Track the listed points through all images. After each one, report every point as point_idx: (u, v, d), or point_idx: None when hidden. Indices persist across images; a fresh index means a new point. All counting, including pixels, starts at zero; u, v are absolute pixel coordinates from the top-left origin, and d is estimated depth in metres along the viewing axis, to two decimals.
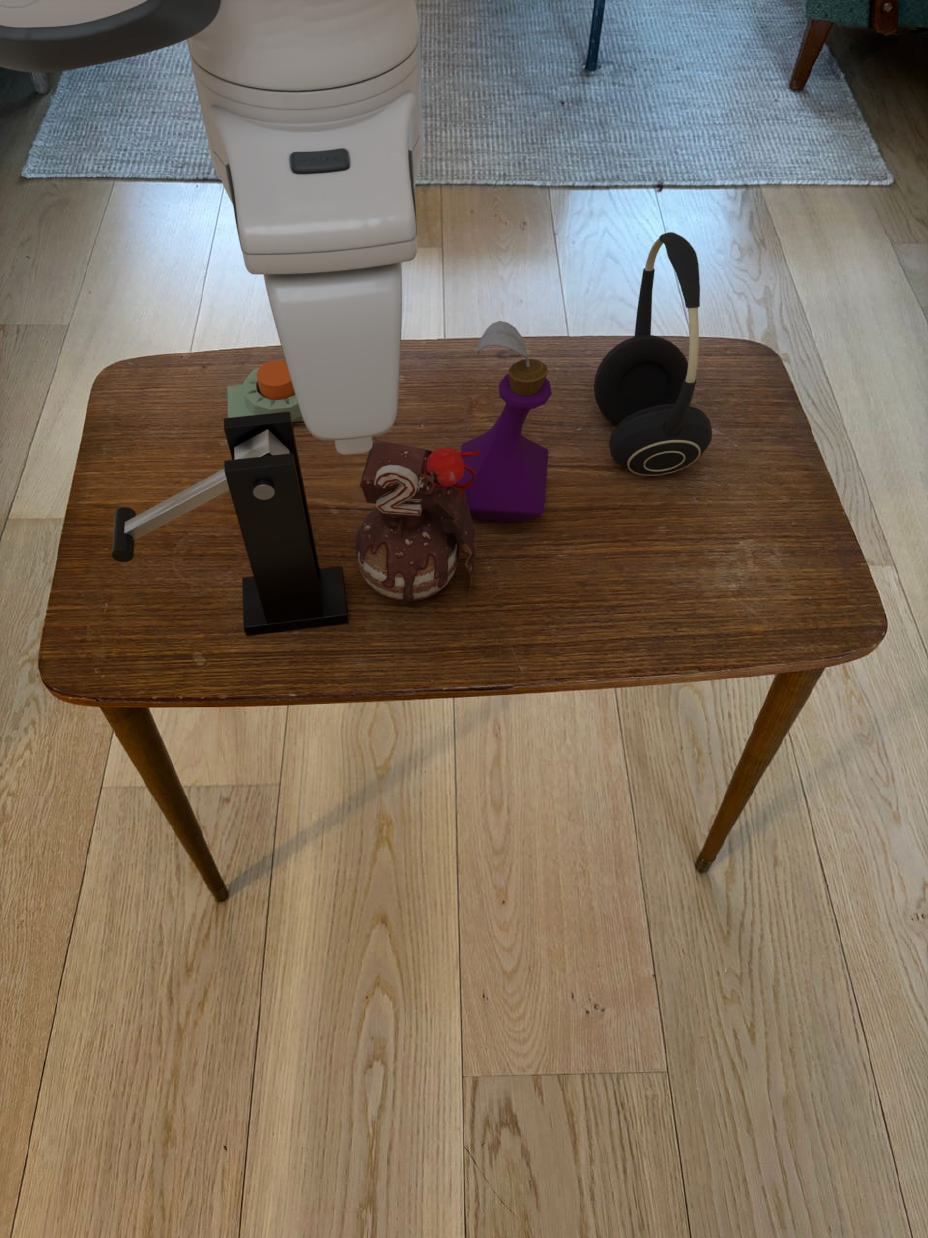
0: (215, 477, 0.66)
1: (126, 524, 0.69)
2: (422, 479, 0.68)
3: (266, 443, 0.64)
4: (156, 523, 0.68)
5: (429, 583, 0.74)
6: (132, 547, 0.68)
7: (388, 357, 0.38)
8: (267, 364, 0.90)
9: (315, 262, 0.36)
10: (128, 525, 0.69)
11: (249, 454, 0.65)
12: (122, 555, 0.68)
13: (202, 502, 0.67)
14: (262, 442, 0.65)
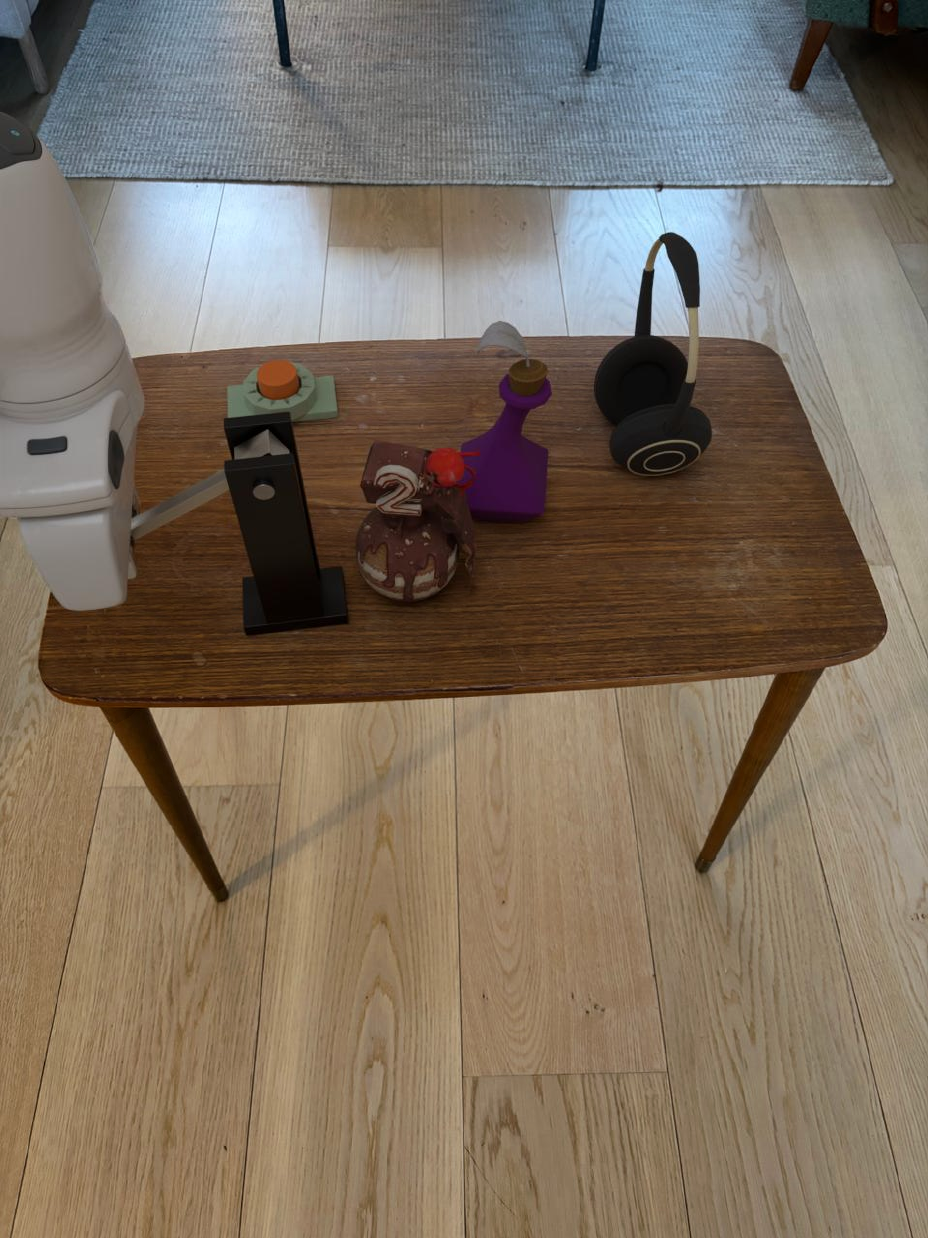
0: (215, 477, 0.66)
1: None
2: (422, 479, 0.68)
3: (266, 443, 0.64)
4: (156, 523, 0.68)
5: (429, 583, 0.74)
6: (132, 547, 0.68)
7: (106, 564, 0.57)
8: (267, 364, 0.90)
9: (44, 512, 0.54)
10: None
11: (249, 454, 0.65)
12: None
13: (202, 502, 0.67)
14: (262, 442, 0.65)
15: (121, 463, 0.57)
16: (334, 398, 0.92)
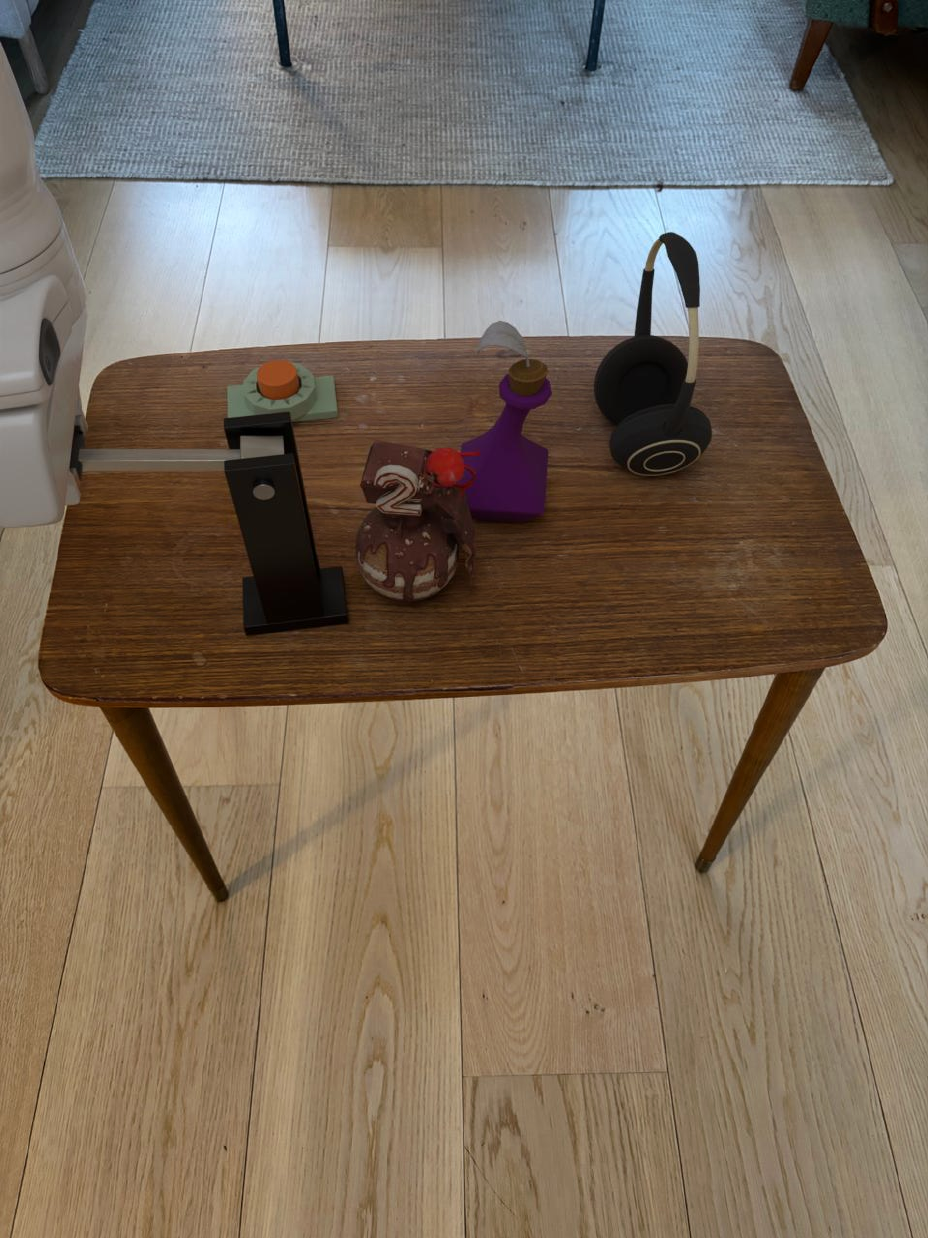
0: (207, 453, 0.65)
1: (81, 452, 0.63)
2: (422, 479, 0.68)
3: (280, 449, 0.65)
4: (118, 467, 0.64)
5: (429, 583, 0.74)
6: (81, 478, 0.63)
7: (37, 471, 0.51)
8: (267, 364, 0.90)
9: None
10: (83, 453, 0.63)
11: (259, 450, 0.64)
12: None
13: (179, 469, 0.65)
14: (276, 446, 0.65)
15: (56, 358, 0.51)
16: (334, 398, 0.92)
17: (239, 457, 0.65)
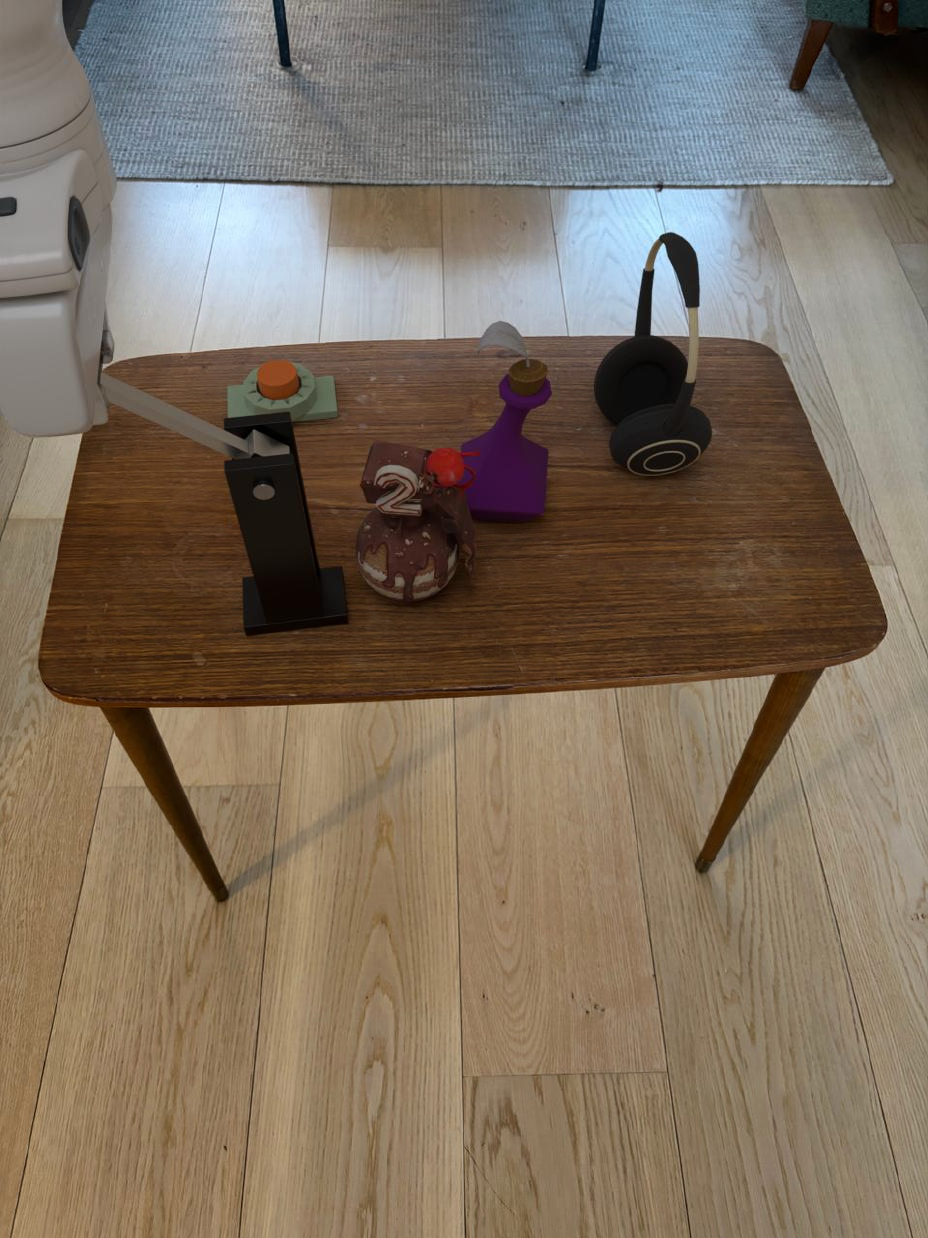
0: (219, 432, 0.63)
1: (102, 375, 0.59)
2: (422, 479, 0.68)
3: None
4: (133, 407, 0.60)
5: (429, 583, 0.74)
6: None
7: (66, 368, 0.46)
8: (267, 364, 0.90)
9: None
10: (105, 379, 0.59)
11: (270, 452, 0.65)
12: None
13: (187, 435, 0.62)
14: (284, 453, 0.66)
15: (85, 243, 0.46)
16: (334, 398, 0.92)
17: (247, 449, 0.64)
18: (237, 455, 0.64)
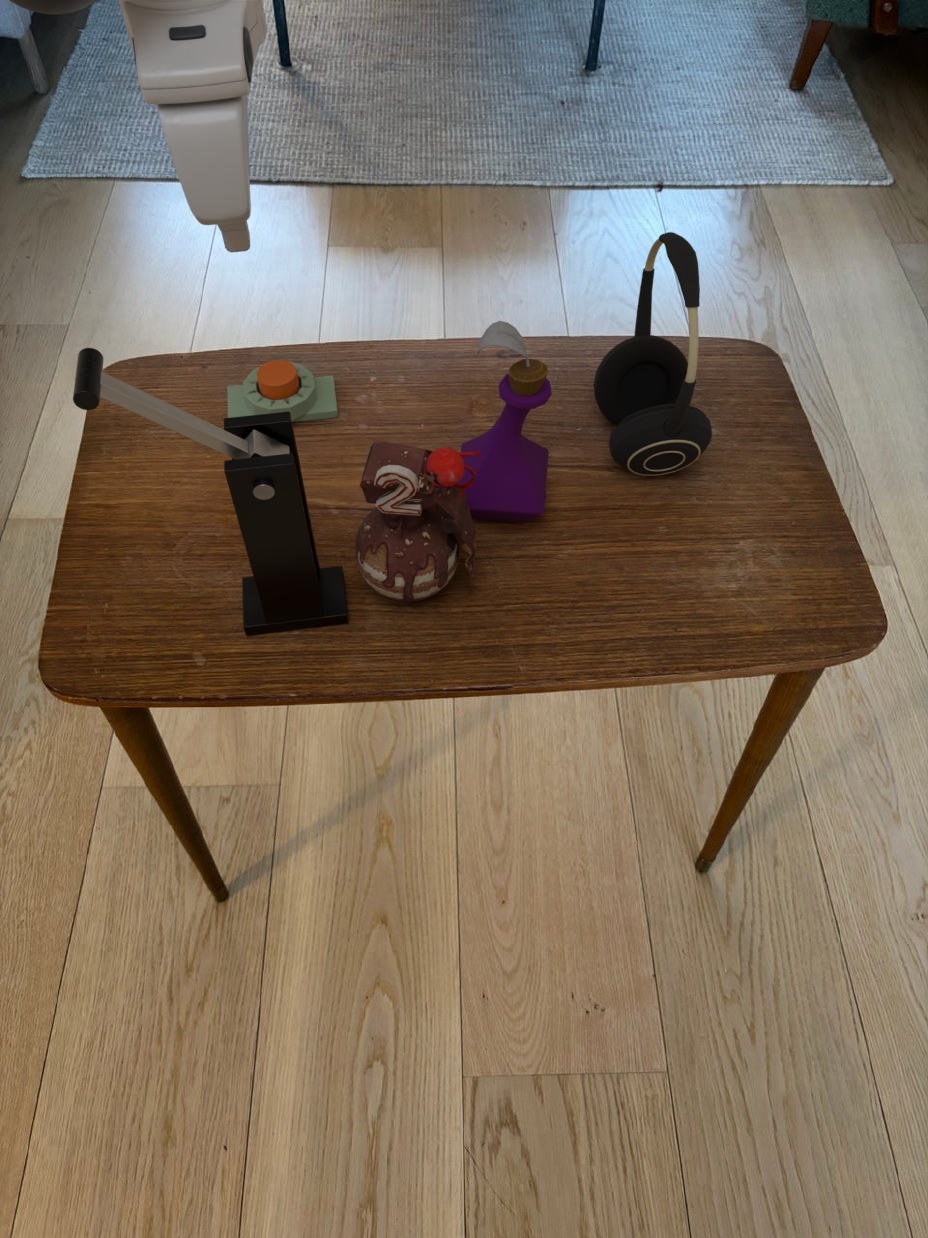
0: (219, 432, 0.63)
1: (103, 375, 0.59)
2: (422, 479, 0.68)
3: None
4: (133, 406, 0.60)
5: (429, 583, 0.74)
6: None
7: (237, 160, 0.61)
8: (267, 364, 0.90)
9: (185, 94, 0.59)
10: (105, 378, 0.59)
11: (270, 452, 0.65)
12: (86, 400, 0.57)
13: (187, 435, 0.62)
14: None
15: (251, 65, 0.61)
16: (334, 398, 0.92)
17: (247, 449, 0.64)
18: (237, 455, 0.64)
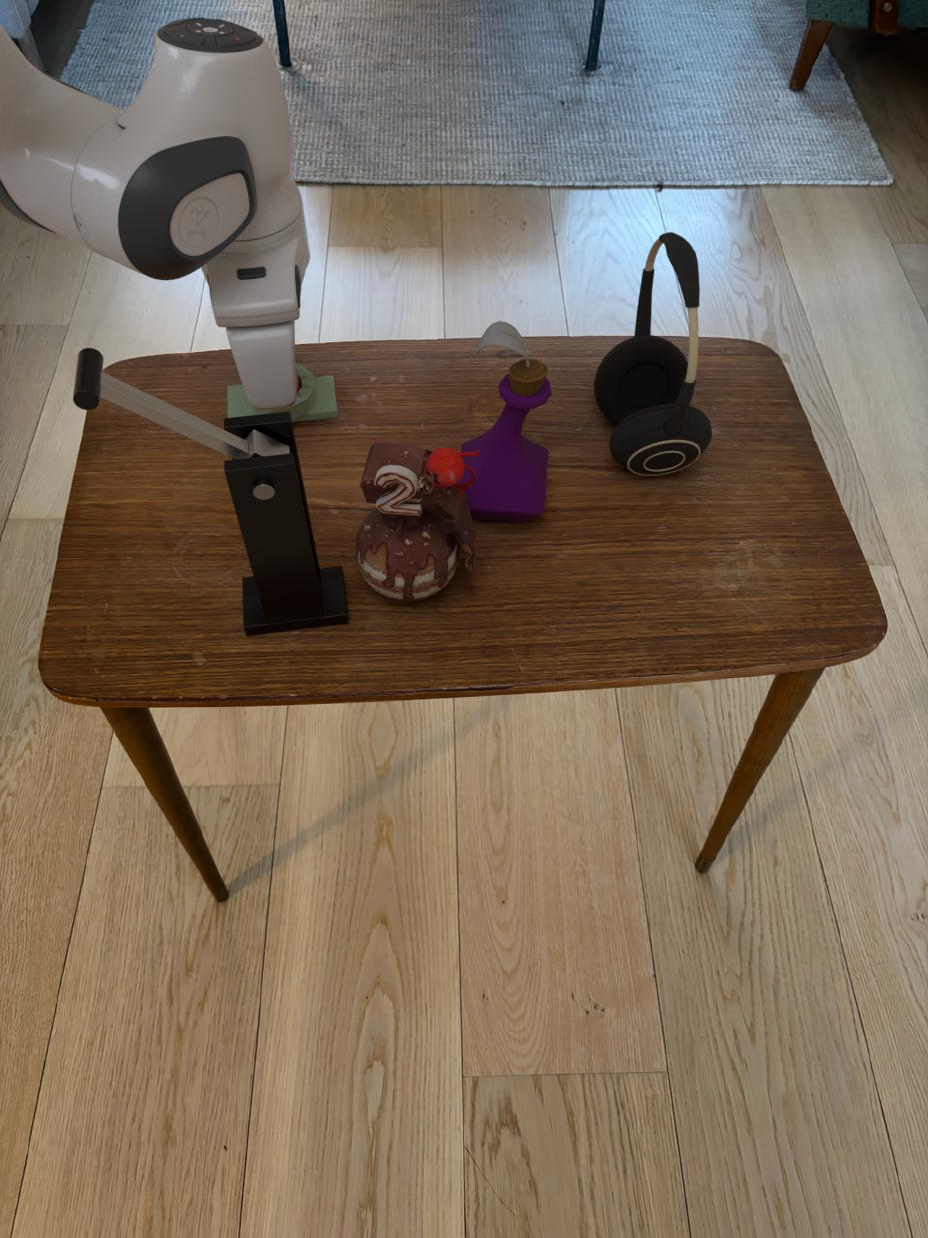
0: (219, 432, 0.63)
1: (103, 375, 0.59)
2: (422, 479, 0.68)
3: None
4: (133, 406, 0.60)
5: (429, 583, 0.74)
6: None
7: (288, 366, 0.77)
8: None
9: (249, 321, 0.74)
10: (105, 378, 0.59)
11: (270, 452, 0.65)
12: (86, 400, 0.57)
13: (187, 435, 0.62)
14: None
15: (300, 291, 0.77)
16: (334, 398, 0.92)
17: (247, 449, 0.64)
18: (237, 455, 0.64)
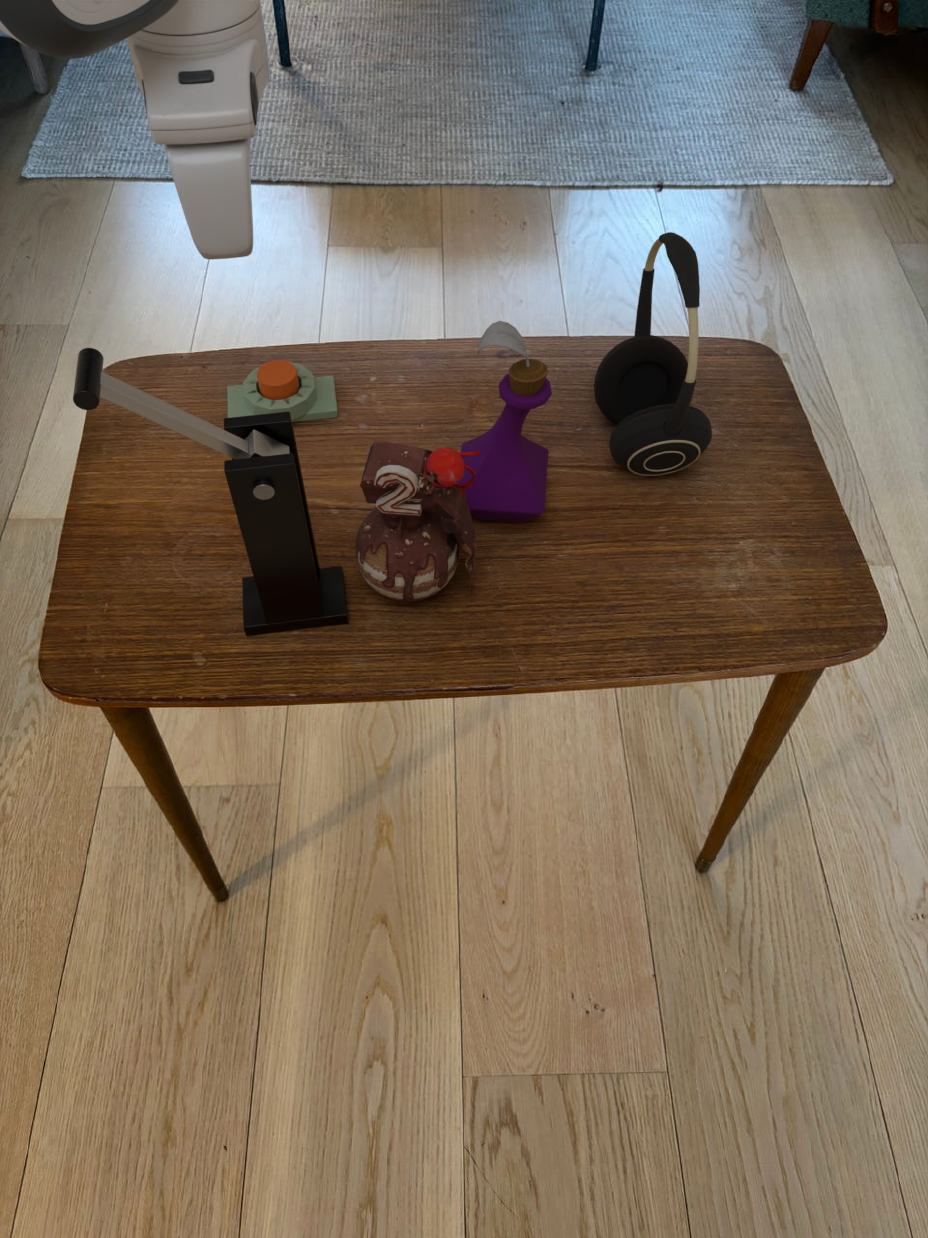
0: (219, 432, 0.63)
1: (103, 375, 0.59)
2: (422, 479, 0.68)
3: None
4: (133, 406, 0.60)
5: (429, 583, 0.74)
6: None
7: (242, 199, 0.63)
8: (267, 364, 0.90)
9: (193, 136, 0.61)
10: (105, 378, 0.59)
11: (270, 452, 0.65)
12: (86, 400, 0.57)
13: (187, 435, 0.62)
14: None
15: (256, 108, 0.63)
16: (334, 398, 0.92)
17: (247, 449, 0.64)
18: (237, 455, 0.64)
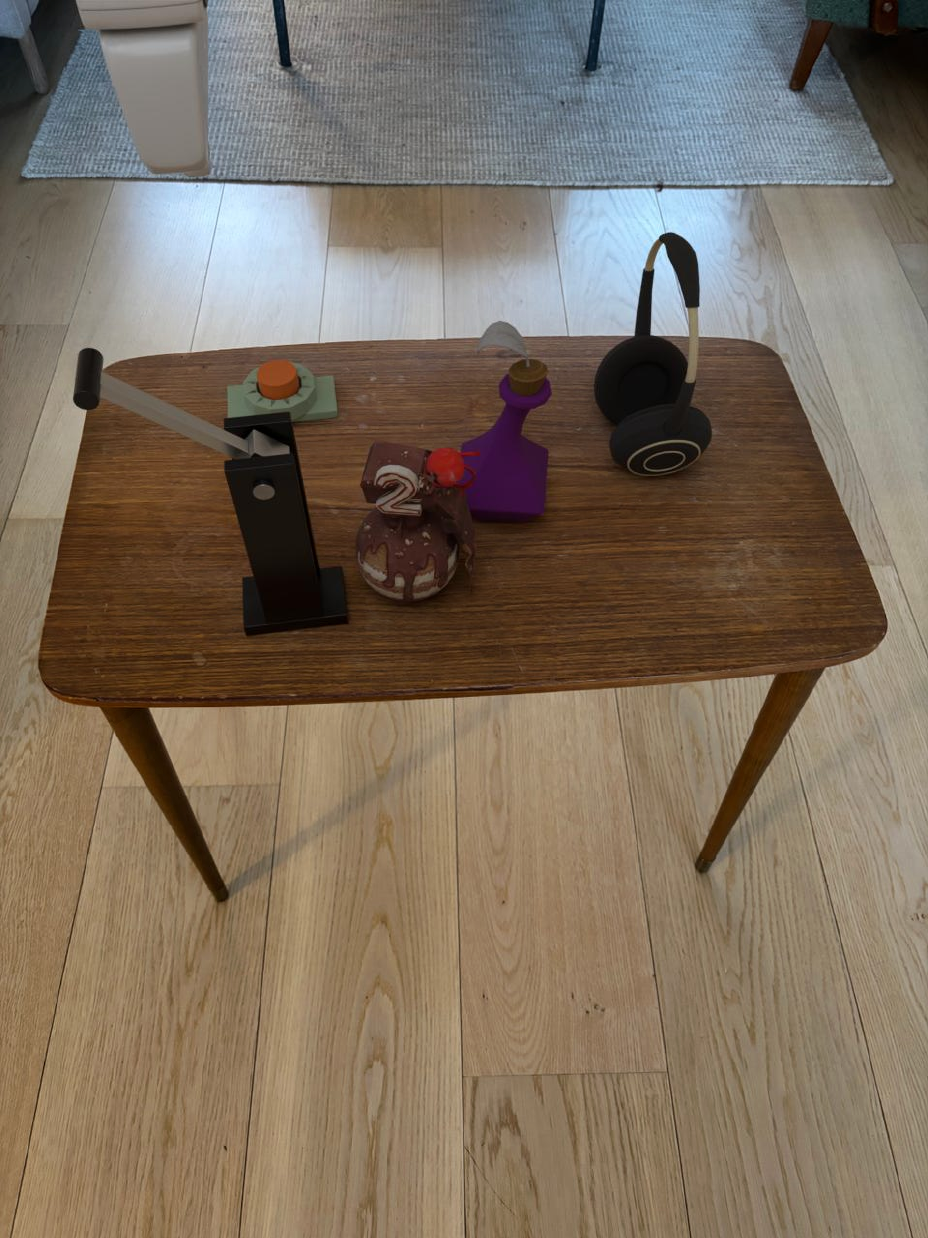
0: (219, 432, 0.63)
1: (103, 375, 0.59)
2: (422, 479, 0.68)
3: None
4: (133, 406, 0.60)
5: (429, 583, 0.74)
6: None
7: (191, 97, 0.54)
8: (267, 364, 0.90)
9: (130, 17, 0.51)
10: (105, 378, 0.59)
11: (270, 452, 0.65)
12: (86, 400, 0.57)
13: (187, 435, 0.62)
14: None
15: None
16: (334, 398, 0.92)
17: (247, 449, 0.64)
18: (237, 455, 0.64)
